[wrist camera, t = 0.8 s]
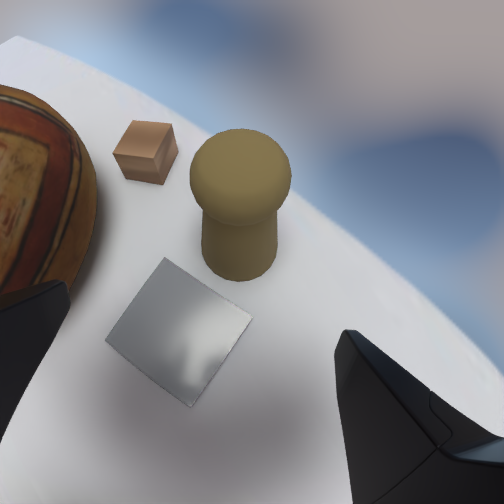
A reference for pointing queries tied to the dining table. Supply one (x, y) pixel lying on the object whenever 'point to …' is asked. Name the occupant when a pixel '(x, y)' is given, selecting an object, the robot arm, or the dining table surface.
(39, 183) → the ceramic pitcher
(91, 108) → the dining table surface
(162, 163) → the walnut block
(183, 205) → the dining table surface
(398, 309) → the dining table surface
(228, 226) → the cork
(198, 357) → the coaster
